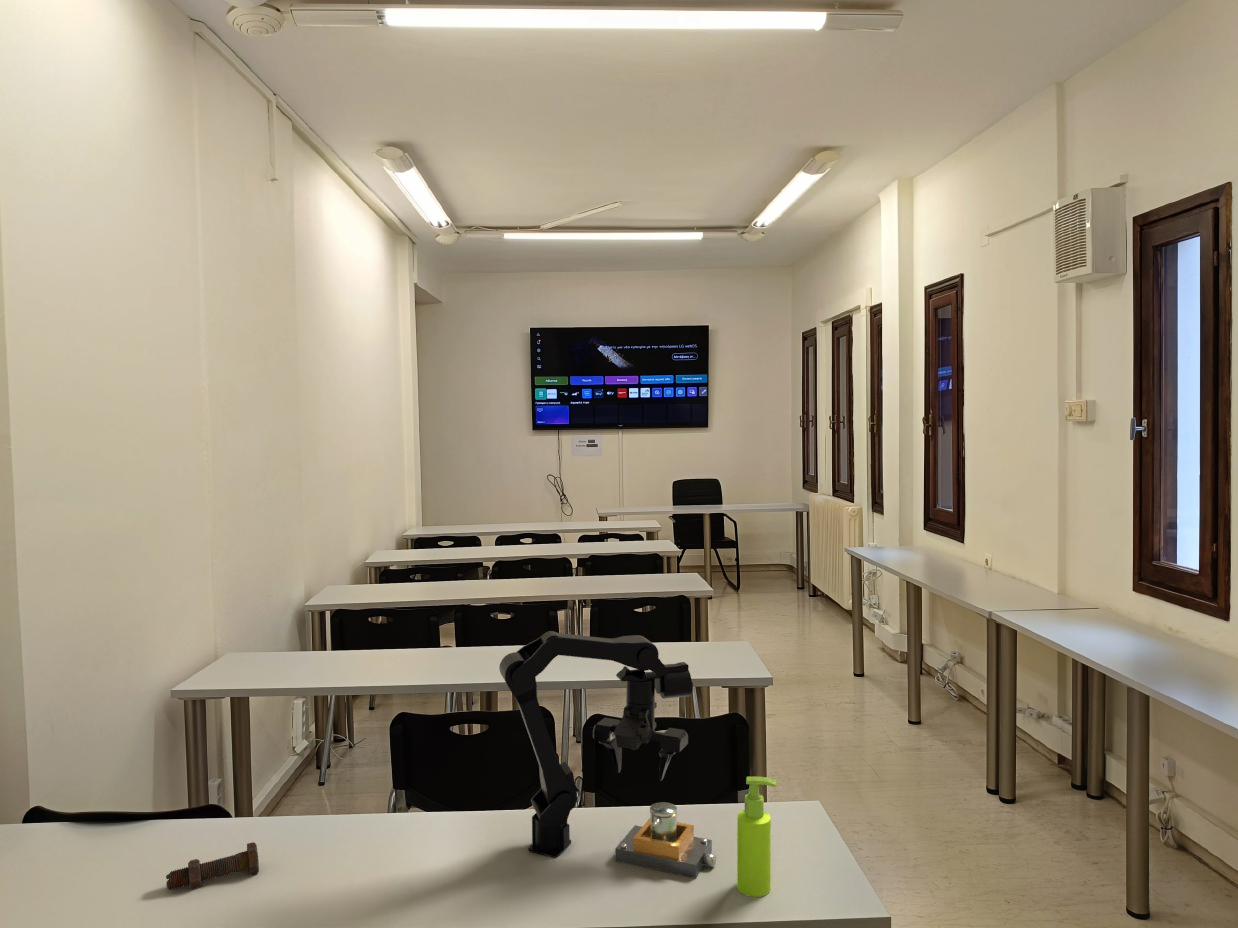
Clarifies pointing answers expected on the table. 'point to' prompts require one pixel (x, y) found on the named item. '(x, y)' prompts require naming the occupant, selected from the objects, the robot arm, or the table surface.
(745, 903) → the table surface
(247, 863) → the bolt
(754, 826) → the soap dispenser
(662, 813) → the spout can
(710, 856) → the grey orange socket fixture
